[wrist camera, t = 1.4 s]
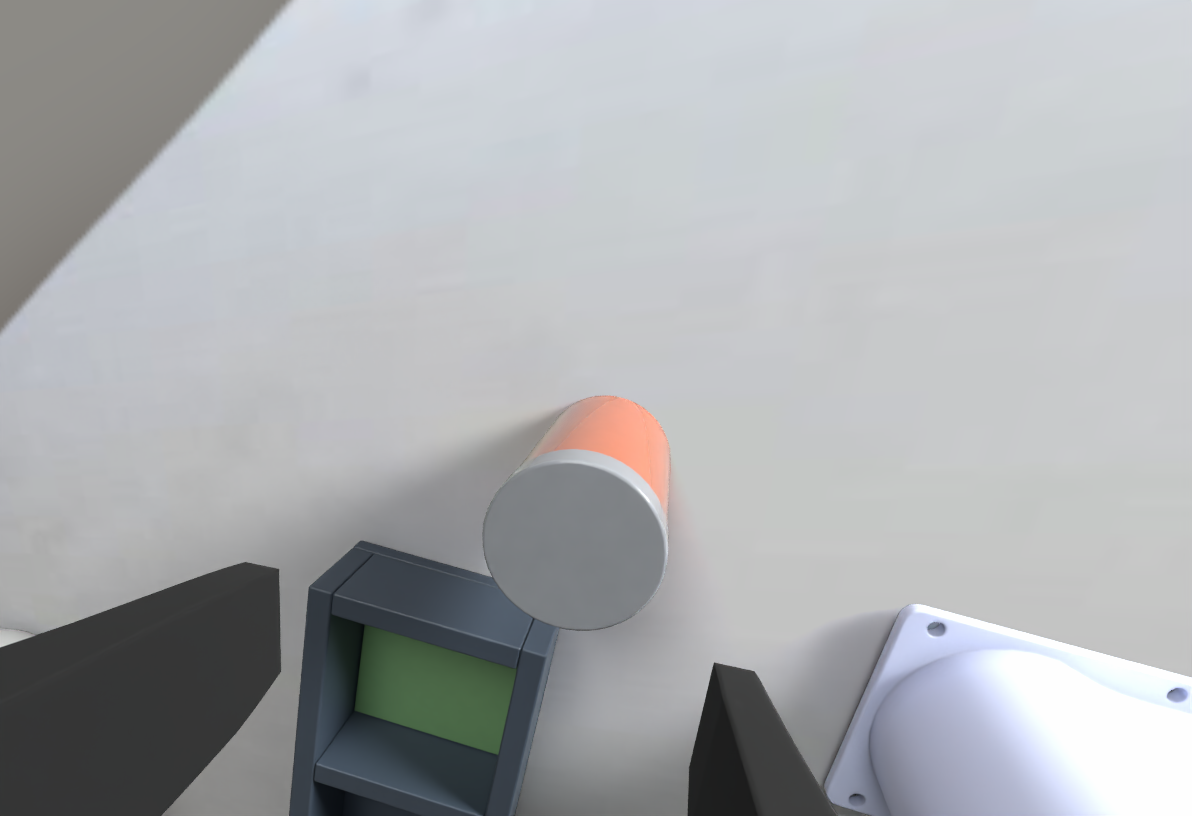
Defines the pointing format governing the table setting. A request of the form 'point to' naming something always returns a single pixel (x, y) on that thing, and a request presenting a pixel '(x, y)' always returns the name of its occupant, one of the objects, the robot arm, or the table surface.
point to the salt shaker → (584, 518)
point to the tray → (415, 690)
